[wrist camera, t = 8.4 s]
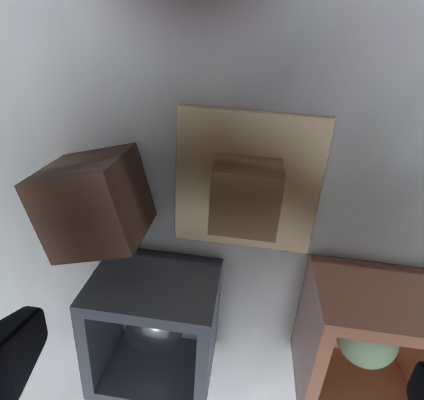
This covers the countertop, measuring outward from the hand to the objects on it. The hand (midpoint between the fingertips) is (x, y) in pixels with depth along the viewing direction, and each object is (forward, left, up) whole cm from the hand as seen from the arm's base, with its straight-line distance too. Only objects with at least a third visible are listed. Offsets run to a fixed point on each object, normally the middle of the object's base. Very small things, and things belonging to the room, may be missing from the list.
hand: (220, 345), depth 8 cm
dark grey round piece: (+4, +8, -10) cm, 13 cm away
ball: (-7, +7, -10) cm, 14 cm away
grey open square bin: (+4, +8, -10) cm, 13 cm away
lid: (0, 0, -11) cm, 11 cm away
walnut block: (+7, +1, -10) cm, 12 cm away
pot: (-7, +7, -10) cm, 14 cm away
